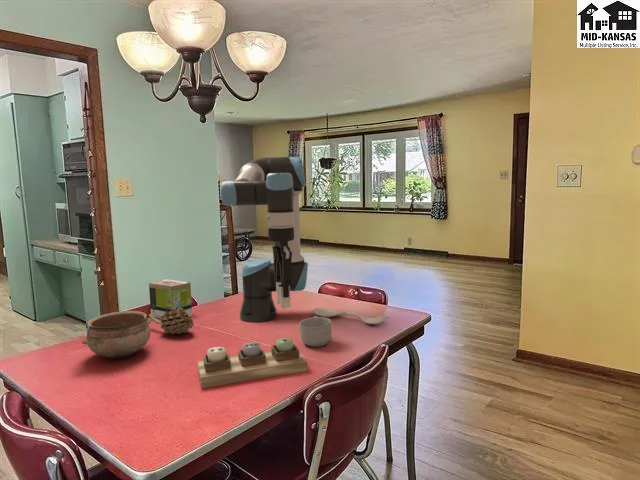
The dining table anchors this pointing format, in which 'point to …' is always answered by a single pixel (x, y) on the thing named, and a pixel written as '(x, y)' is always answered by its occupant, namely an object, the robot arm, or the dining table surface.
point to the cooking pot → (118, 334)
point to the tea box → (169, 296)
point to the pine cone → (175, 321)
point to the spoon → (331, 313)
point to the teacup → (315, 331)
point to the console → (250, 367)
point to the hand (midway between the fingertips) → (283, 305)
